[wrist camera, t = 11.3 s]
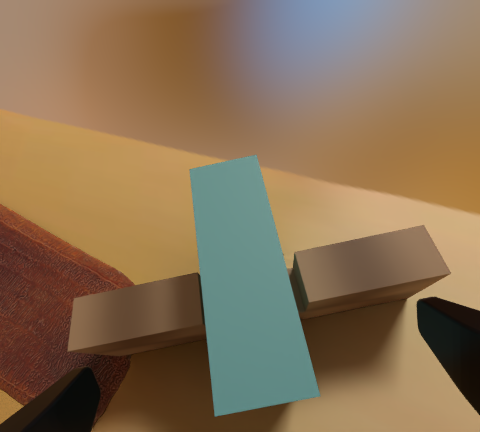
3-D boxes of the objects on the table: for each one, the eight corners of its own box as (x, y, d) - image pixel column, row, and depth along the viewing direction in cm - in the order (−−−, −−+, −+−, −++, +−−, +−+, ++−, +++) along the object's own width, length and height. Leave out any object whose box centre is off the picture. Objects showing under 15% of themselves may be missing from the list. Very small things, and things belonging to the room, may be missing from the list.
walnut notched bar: (389, 259, 18) (423, 225, 14) (407, 298, 17) (451, 273, 13) (122, 315, 19) (74, 298, 14) (120, 356, 17) (67, 351, 13)
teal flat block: (300, 383, 16) (320, 396, 8) (247, 393, 16) (214, 416, 8) (266, 239, 20) (256, 154, 12) (224, 247, 20) (189, 169, 12)
